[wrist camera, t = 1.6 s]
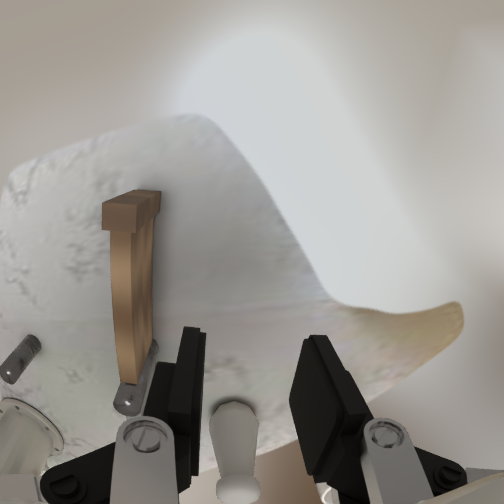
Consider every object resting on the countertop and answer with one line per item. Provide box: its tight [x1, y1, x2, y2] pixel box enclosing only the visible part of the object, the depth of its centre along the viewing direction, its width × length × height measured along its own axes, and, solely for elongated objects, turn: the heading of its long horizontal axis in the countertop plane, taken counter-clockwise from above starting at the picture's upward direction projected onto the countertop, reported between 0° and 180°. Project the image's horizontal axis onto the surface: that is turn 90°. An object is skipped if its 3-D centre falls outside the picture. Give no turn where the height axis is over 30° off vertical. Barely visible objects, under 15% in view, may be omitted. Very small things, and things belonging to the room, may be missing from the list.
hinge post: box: [113, 339, 158, 417], centre depth 27 cm, size 2×2×10 cm
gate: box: [102, 190, 161, 384], centre depth 24 cm, size 15×2×8 cm, turn 173°
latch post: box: [0, 335, 41, 384], centre depth 27 cm, size 2×2×7 cm
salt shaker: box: [209, 401, 261, 504], centre depth 29 cm, size 6×6×13 cm
